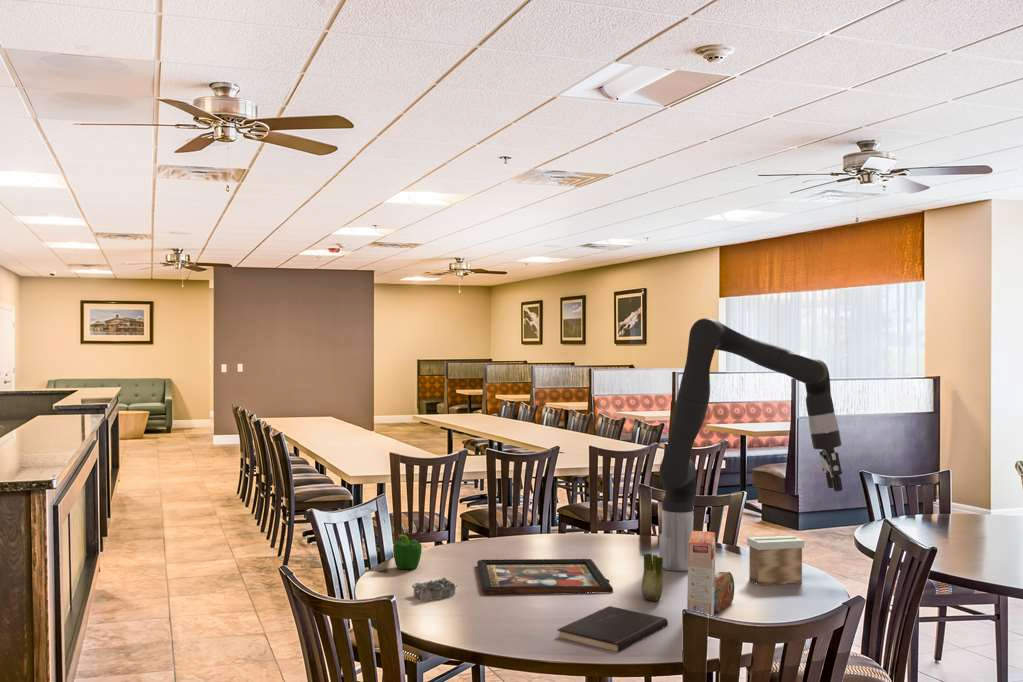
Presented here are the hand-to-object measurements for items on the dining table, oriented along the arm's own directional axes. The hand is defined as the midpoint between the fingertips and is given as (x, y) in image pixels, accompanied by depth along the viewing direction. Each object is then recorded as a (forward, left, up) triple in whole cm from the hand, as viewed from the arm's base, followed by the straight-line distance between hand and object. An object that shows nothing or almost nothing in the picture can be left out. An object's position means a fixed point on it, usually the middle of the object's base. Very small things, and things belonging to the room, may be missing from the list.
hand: (835, 489), depth 241 cm
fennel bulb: (-54, 0, -27) cm, 60 cm away
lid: (-13, +10, -17) cm, 23 cm away
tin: (-39, -10, -28) cm, 49 cm away
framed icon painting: (-77, +26, -28) cm, 85 cm away
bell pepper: (-113, +45, -27) cm, 124 cm away
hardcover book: (-72, -22, -28) cm, 80 cm away
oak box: (-13, +10, -27) cm, 31 cm away
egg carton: (-109, +15, -28) cm, 113 cm away
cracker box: (-49, -22, -27) cm, 60 cm away
